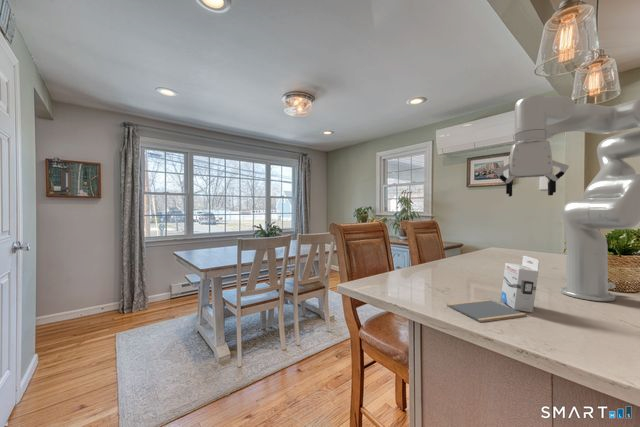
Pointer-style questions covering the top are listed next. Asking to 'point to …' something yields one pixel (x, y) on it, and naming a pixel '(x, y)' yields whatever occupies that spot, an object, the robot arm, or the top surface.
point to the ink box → (520, 284)
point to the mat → (485, 310)
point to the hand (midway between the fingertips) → (529, 195)
